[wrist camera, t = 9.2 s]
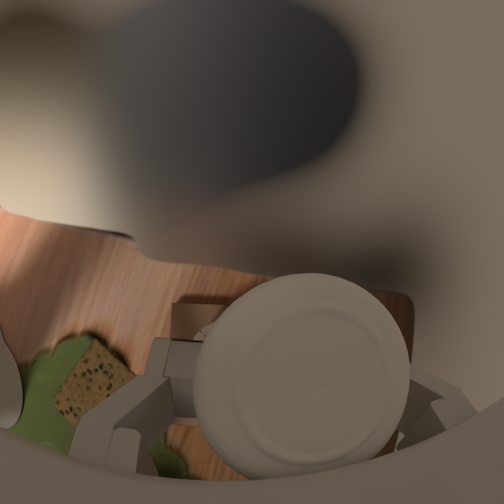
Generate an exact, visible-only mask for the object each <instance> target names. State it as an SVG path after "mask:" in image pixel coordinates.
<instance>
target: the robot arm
mask: <svg viewBox="0 0 504 504" xmlns="http://www.w3.org/2000/svg"><path fill="white" fill-rule="evenodd" d="M202 344H203V341H199V340H186V339H174V338H172V339H171V338H161V337H155V338H154V339H153V342H152V345H151V349H150V352H149V356H148V360H147V363H146V367H145V371H144V375H139V374H138V375H137V376H136V377H134V378H133V379H132V380H130V381H129V382H128V383H126V384H125V385H124V386H122V387H121V388H120V389H118V390H117V391H116V392H114V393H113V394H112V395H110V396H109V397H108V398H106V399H105V400H103V401H102V402H101V403H99V404H98V405H97V406H95V407H94V408H93V409H91V410H90V411H88V412H87V413H86V414H84V415H83V416H81V418H80V421H79V424H78V427H77V429H76V432H75V435H74V438H73V441H72V444H71V447H70V451H69V454H68V456H67V455H64V454H61V453H59V452H56V451H53V450H51V449H48V448H45V447H43V446H41V445H38V444H36V443H33V442H31V441H29V440H27V439H24V438H22V437H20V436H18V435H16V434H14V433H12V432H10V431H8V430H6V429H7V428H9V427H11V426H13V425H14V424H15V423H16V422H17V420H18V419H19V416H20V414H21V410H22V402H23V393H22V383H21V378H20V374H19V370H18V367H17V364H16V361H15V359H14V357H13V355H12V353H11V351H10V349H9V348H8V346H7V345H6V343H5V342H4V340H3V336H2V332H1V329H0V504H504V397H503V398H501V399H500V400H498V401H497V402H495V403H494V404H492V405H491V406H489V407H487V408H486V409H484V410H483V411H481V412H479V413H478V412H477V411H476V410H475V408H474V407H473V406H472V404H471V403H470V402H469V400H468V399H467V398H466V396H465V395H464V394H463V392H462V391H461V390H460V389H458V388H456V387H454V386H452V385H450V384H448V383H446V382H444V381H443V380H441V379H438V378H437V377H435V376H433V375H431V374H429V373H427V372H425V371H423V370H421V369H419V368H417V367H415V366H413V365H411V364H409V367H410V383H409V392H408V397H407V402H406V406H405V409H404V412H403V415H402V417H401V419H400V421H399V423H398V425H397V427H396V429H397V430H399V431H400V432H401V433H403V434H404V435H405V437H404V438H403V439H402V440H401V441H400V442H399V443H398V445H397V447H396V448H397V450H398V451H396V452H393V453H390V454H387V455H384V456H381V457H378V458H375V459H371V460H368V461H364V462H361V463H357V464H353V465H349V466H345V467H341V468H337V469H332V470H327V471H322V472H317V473H311V474H305V475H298V476H291V477H283V478H273V479H262V480H243V481H205V480H187V479H175V478H166V477H158V471H157V469H156V467H155V465H154V463H153V461H152V459H151V456H150V454H149V452H148V451H149V450H150V448H151V447H152V446H153V445H154V444H155V443H156V442H157V440H158V439H159V438H160V437H161V436H162V435H163V433H164V432H165V431H166V430H167V429H168V428H169V426H170V425H171V424H172V423H173V422H174V421H175V419H176V417H182V418H197V416H196V413H195V407H194V401H193V376H194V370H195V365H196V361H197V357H198V354H199V351H200V349H201V346H202Z"/></svg>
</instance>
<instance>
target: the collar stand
mask: <svg viewBox="0 0 504 504" xmlns="http://www.w3.org/2000/svg"><path fill="white" fill-rule="evenodd" d="M229 306H230V305H211V304H188V303H172V314H171V333H170V338H171V339H172V338H174V339H186V340H199V341H204V339H205V337H206V336H207V334H208V332H209V331H210V329H211V328H212V326H213V324H214V323H215V321H216V320H217V319H218V318H219V316H220V315H221V314H222V313H223V312H224V311H225V310H226V309H227V308H228V307H229ZM172 424H176V425H188V426H199V422H198V419H197V418H182V417H176V419H175V421H174V422H173V423H172Z"/></svg>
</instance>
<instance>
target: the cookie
mask: <svg viewBox="0 0 504 504" xmlns="http://www.w3.org/2000/svg"><path fill="white" fill-rule="evenodd" d="M134 377H136V375H135V374H134V373H133V372H132V371H130V370H129V369H128V368H127V367H126V366H125V365H124V364H123V363H122V362H121V361H120V360H119V359H117V358H116V357H115V356H114V355H113V354H112V353H110V351H109V350H108V349H107V348H106V347H105V346H103V345H102V344H101V343H100V342H99V340H98V339H95V340H94V341H93V343H91V344H90V345H89V346H88V349H87V350H86V351H85V353H84V355H82V356H81V358H80V360H79V362H78V363H77V365H76V366H75V367H74V368H73V370H72V372H71V373H70V375H69V376H68V377H67V379H66V380H65V381H64V383H63V385H62V386H61V387H59V389H58V392H57V394H56V396H55V397H54V398H53V401H52V402H53V404H54V405H55V406H56V408H57V409H58V410H59V411H60V413H61V414H63V415H64V416H65V417H66V418H67V420H68V421H70V422H71V423H72V424H73V425H74V426H75V427H76V428H77V427H78V424H79V421H80V418H81V416H83V415H84V414H86V413H87V412H88V411H90V410H91V409H93V408H94V407H95V406H97V405H98V404H99V403H101V402H102V401H103V400H105V399H106V398H108V397H109V396H110V395H112V394H113V393H114V392H116V391H117V390H118V389H120V388H121V387H122V386H124V385H125V384H126V383H128V382H129V381H130V380H132V379H133V378H134Z"/></svg>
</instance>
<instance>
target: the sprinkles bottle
mask: <svg viewBox="0 0 504 504" xmlns="http://www.w3.org/2000/svg"><path fill="white" fill-rule="evenodd" d="M409 383H410V367H409V358H408V352H407V348H406V344H405V342H404V339H403V336H402V334H401V331H400V329H399V327H398V325H397V324H396V322H395V320H394V319H393V317H392V316H391V314H390V313H389V312H388V310H387V309H386V308H385V307H384V306H383V305H382V304H381V303H380V302H379V301H378V300H377V299H376V298H375V297H374V296H373V295H371V294H370V293H369V292H367V291H366V290H364V289H363V288H361V287H359V286H358V285H356V284H354V283H352V282H349V281H346V280H344V279H341V278H338V277H335V276H330V275H326V274H318V273H305V274H292V275H287V276H283V277H278V278H275V279H273V280H270V281H268V282H265V283H262V284H260V285H258V286H256V287H254V288H253V289H251V290H250V291H248V292H246V293H245V294H244V295H242V296H241V297H239V298H238V299H237V300H235V301H234V302H233V303H232V304H231V305H230V306H229V307H228V308H227V309H226V310H225V311H224V312H223V313H222V314H221V315H220V316H219V318H218V319H217V320H216V321H215V323H214V324H213V326H212V328H211V329H210V331H209V332H208V334H207V336H206V337H205V339H204V341H203V344H202V346H201V349H200V351H199V354H198V357H197V361H196V365H195V370H194V376H193V401H194V407H195V413H196V416H197V419H198V422H199V426H200V428H201V430H202V432H203V435H204V436H205V438H206V440H207V441H208V443H209V445H210V446H211V447H212V449H213V450H214V452H215V453H216V454H217V455H218V456H219V457H220V458H221V459H222V460H223V461H224V462H225V463H226V464H227V465H228V466H229V467H231V468H232V469H234V470H235V471H236V472H238V473H239V474H241V475H243V476H245V477H246V478H248V479H250V480H262V479H273V478H283V477H291V476H298V475H305V474H311V473H317V472H322V471H327V470H332V469H337V468H341V467H345V466H349V465H353V464H357V463H361V462H364V461H368V460H371V459H372V458H374V457H375V456H376V455H377V454H378V453H379V451H380V450H381V449H382V448H383V447H384V445H385V444H386V443H387V442H388V440H389V439H390V437H391V436H392V434H393V433H394V431H395V429H396V427H397V425H398V423H399V421H400V419H401V417H402V415H403V412H404V409H405V406H406V402H407V397H408V392H409Z"/></svg>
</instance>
